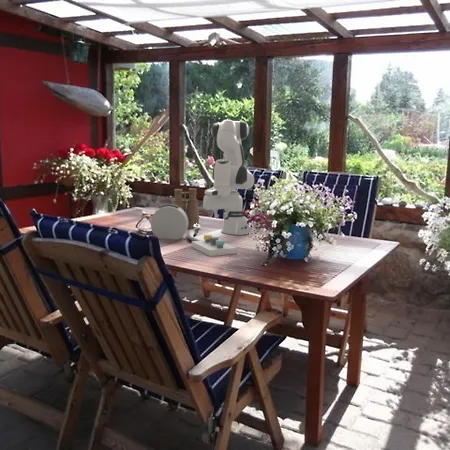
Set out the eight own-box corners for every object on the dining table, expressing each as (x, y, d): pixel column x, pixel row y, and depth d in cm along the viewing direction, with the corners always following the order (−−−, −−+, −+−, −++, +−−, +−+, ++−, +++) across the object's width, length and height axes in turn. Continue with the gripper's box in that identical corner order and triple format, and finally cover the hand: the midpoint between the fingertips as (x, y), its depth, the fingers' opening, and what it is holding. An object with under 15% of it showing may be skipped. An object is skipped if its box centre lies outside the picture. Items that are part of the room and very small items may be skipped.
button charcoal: (215, 245, 288) (215, 236, 287) (219, 247, 284) (220, 238, 283) (207, 245, 286) (208, 237, 285) (211, 247, 282) (212, 239, 281)
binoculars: (194, 224, 353) (195, 187, 348) (202, 227, 345) (203, 189, 340) (167, 227, 341) (167, 188, 336) (174, 230, 333) (175, 190, 328)
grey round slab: (188, 237, 315) (189, 204, 311) (186, 239, 308) (186, 206, 304) (153, 235, 317) (153, 202, 313) (150, 237, 310) (150, 204, 306)
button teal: (221, 248, 282) (222, 239, 281) (226, 250, 278) (226, 241, 277) (213, 248, 280) (214, 240, 279) (218, 250, 276) (218, 242, 275)
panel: (217, 244, 299) (217, 239, 298) (236, 253, 280) (236, 247, 279) (191, 246, 291) (191, 241, 290) (209, 255, 272) (210, 250, 272)
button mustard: (209, 242, 294) (209, 234, 293) (213, 244, 290) (213, 235, 289) (201, 243, 292) (202, 234, 291) (205, 244, 288) (206, 236, 287)
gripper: (236, 189, 281) (235, 215, 284) (201, 190, 271) (201, 217, 274) (242, 191, 276) (241, 217, 278) (207, 192, 266) (206, 219, 268)
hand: (221, 217), depth 276 cm, fingers open, 4 cm apart
